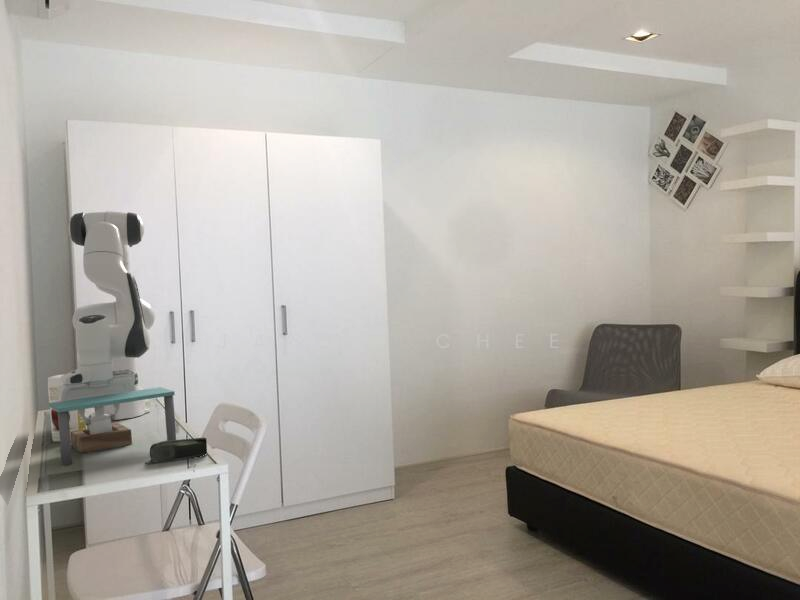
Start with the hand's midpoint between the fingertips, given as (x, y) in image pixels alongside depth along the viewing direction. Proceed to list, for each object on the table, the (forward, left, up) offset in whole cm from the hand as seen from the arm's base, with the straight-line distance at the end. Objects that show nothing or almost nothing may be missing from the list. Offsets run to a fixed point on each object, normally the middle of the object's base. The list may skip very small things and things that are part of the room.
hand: (100, 422), depth 194 cm
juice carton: (-16, -5, -7) cm, 18 cm away
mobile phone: (+34, +10, -7) cm, 36 cm away
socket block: (0, 0, -6) cm, 6 cm away
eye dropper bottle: (0, 0, -6) cm, 6 cm away
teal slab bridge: (+12, +1, -6) cm, 13 cm away
